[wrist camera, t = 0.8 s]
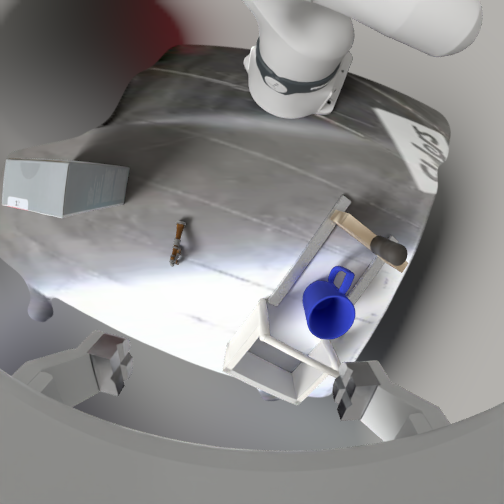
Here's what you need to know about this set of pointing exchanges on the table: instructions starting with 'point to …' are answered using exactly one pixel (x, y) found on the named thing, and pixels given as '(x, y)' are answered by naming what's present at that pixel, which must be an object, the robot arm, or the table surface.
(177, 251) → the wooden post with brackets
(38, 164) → the hard drive box
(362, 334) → the table surface
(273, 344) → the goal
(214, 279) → the table surface
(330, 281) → the mug
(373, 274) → the rails
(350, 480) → the robot arm
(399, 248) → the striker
